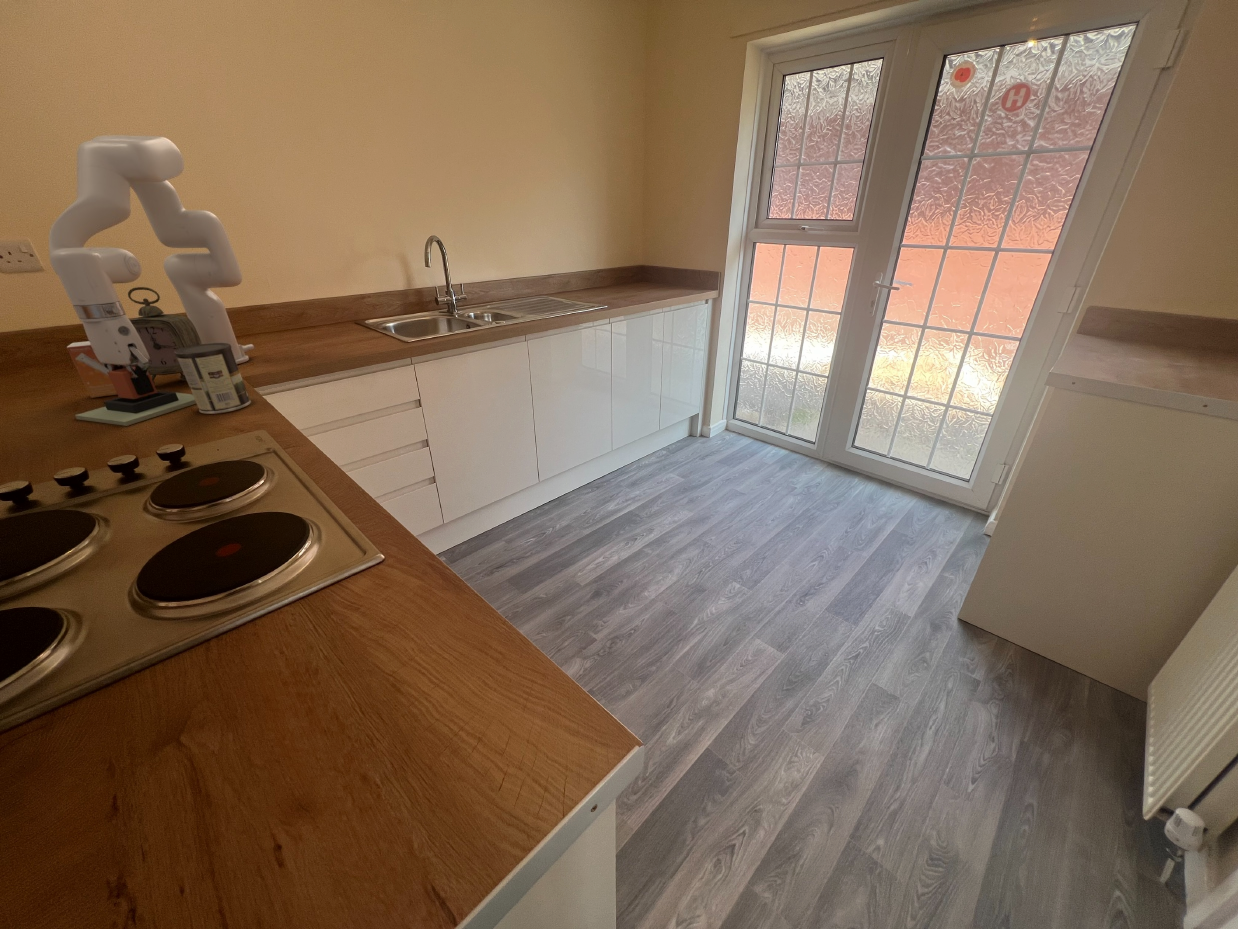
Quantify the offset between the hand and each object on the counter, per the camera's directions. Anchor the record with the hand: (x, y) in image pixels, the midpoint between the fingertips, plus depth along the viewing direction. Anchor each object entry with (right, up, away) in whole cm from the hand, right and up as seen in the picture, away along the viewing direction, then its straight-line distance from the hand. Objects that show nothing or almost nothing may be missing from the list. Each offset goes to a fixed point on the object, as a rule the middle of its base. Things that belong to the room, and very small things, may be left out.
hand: (137, 391), depth 116 cm
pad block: (0, -1, 0) cm, 1 cm away
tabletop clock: (-8, +5, +21) cm, 23 cm away
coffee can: (+18, -3, +3) cm, 19 cm away
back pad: (0, -4, +2) cm, 4 cm away
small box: (-19, +2, +14) cm, 24 cm away
